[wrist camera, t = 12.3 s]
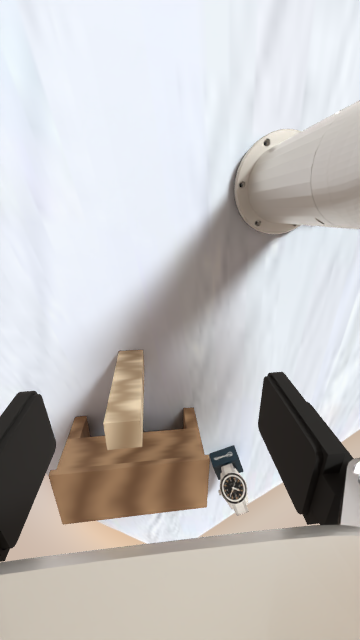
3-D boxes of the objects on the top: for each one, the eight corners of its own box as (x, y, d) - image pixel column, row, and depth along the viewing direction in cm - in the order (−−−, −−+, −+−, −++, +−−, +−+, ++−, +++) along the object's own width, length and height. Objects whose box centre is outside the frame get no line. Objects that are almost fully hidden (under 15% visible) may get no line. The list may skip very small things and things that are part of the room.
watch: (231, 439, 53) (251, 491, 43) (240, 463, 57) (260, 517, 47) (206, 447, 54) (220, 502, 44) (216, 471, 57) (231, 527, 47)
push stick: (169, 348, 43) (180, 417, 29) (171, 445, 52) (180, 535, 38) (91, 352, 42) (60, 427, 27) (106, 451, 51) (89, 547, 36)
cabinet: (196, 404, 49) (209, 459, 38) (194, 449, 53) (206, 509, 43) (71, 414, 46) (48, 475, 36) (81, 460, 51) (63, 527, 40)
